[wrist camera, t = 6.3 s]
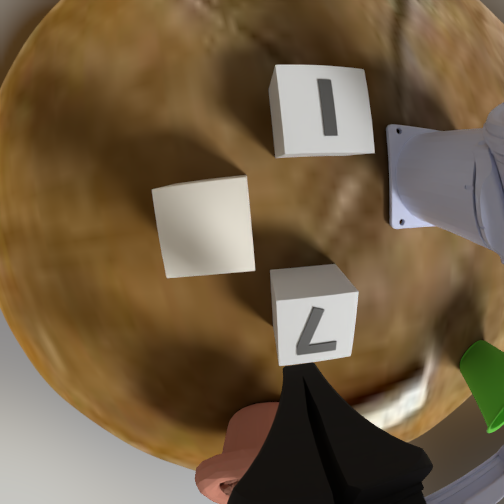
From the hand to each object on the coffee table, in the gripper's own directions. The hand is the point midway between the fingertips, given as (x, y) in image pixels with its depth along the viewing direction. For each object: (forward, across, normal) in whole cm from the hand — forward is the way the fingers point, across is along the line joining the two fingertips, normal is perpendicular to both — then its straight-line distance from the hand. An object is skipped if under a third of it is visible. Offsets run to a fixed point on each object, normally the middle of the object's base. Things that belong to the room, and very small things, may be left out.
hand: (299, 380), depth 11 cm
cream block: (+10, +4, -6) cm, 12 cm away
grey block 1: (+10, -3, -12) cm, 16 cm away
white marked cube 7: (+10, -2, +1) cm, 10 cm away
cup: (+10, -26, +15) cm, 31 cm away
